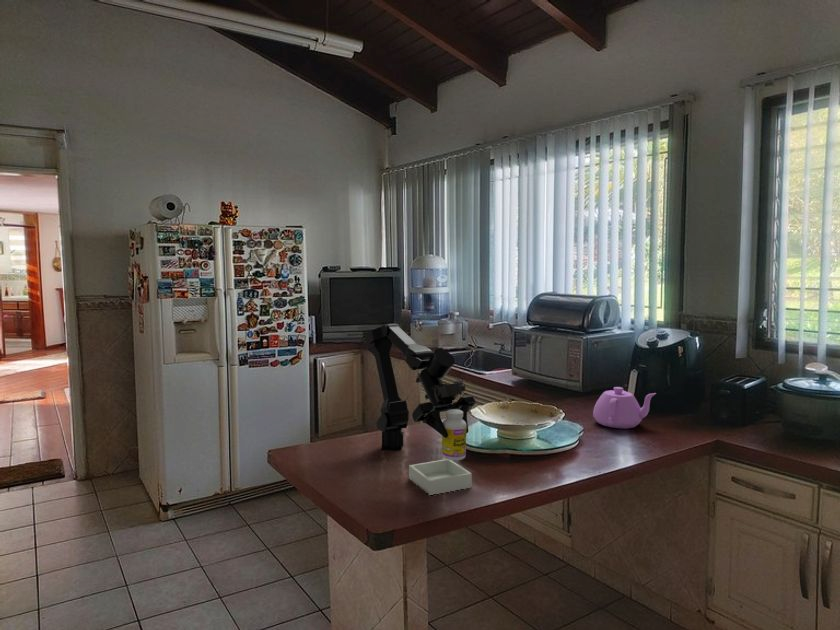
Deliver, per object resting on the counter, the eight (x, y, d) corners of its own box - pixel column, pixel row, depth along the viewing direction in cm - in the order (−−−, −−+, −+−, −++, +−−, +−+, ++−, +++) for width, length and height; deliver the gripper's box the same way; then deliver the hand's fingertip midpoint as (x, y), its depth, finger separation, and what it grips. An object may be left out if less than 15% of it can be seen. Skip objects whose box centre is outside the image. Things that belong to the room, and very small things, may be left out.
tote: (409, 479, 162) (409, 465, 161) (448, 472, 167) (448, 458, 167) (429, 496, 150) (429, 481, 150) (471, 487, 156) (471, 473, 155)
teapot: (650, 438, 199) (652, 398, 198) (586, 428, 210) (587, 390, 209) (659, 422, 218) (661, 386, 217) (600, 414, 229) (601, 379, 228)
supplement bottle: (452, 463, 156) (452, 416, 154) (436, 456, 161) (437, 410, 160) (470, 457, 160) (471, 412, 158) (455, 451, 165) (455, 406, 164)
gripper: (418, 374, 156) (442, 425, 148) (472, 367, 166) (497, 414, 158) (402, 397, 163) (424, 446, 155) (455, 388, 174) (478, 434, 166)
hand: (457, 434), depth 159 cm, fingers closed on supplement bottle, 7 cm apart
